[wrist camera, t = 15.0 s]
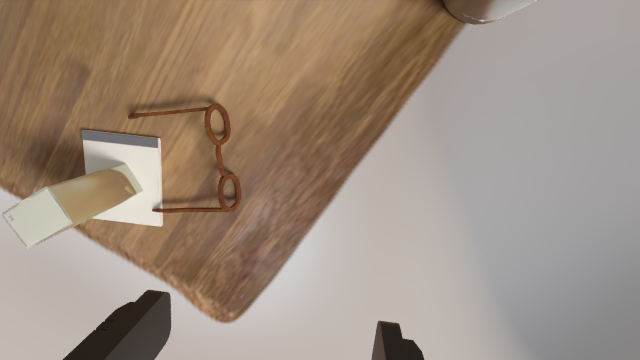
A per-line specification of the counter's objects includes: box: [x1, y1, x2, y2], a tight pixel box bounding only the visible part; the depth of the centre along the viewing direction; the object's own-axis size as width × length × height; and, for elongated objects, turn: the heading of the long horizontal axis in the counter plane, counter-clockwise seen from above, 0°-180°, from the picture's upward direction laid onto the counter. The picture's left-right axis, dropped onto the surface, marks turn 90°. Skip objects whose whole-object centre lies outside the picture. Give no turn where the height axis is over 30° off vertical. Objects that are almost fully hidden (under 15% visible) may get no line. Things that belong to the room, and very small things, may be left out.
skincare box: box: [1, 163, 143, 248], centre depth 38 cm, size 6×4×12 cm
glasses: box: [128, 104, 241, 213], centre depth 41 cm, size 13×13×5 cm
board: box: [81, 130, 163, 227], centre depth 44 cm, size 12×10×1 cm
